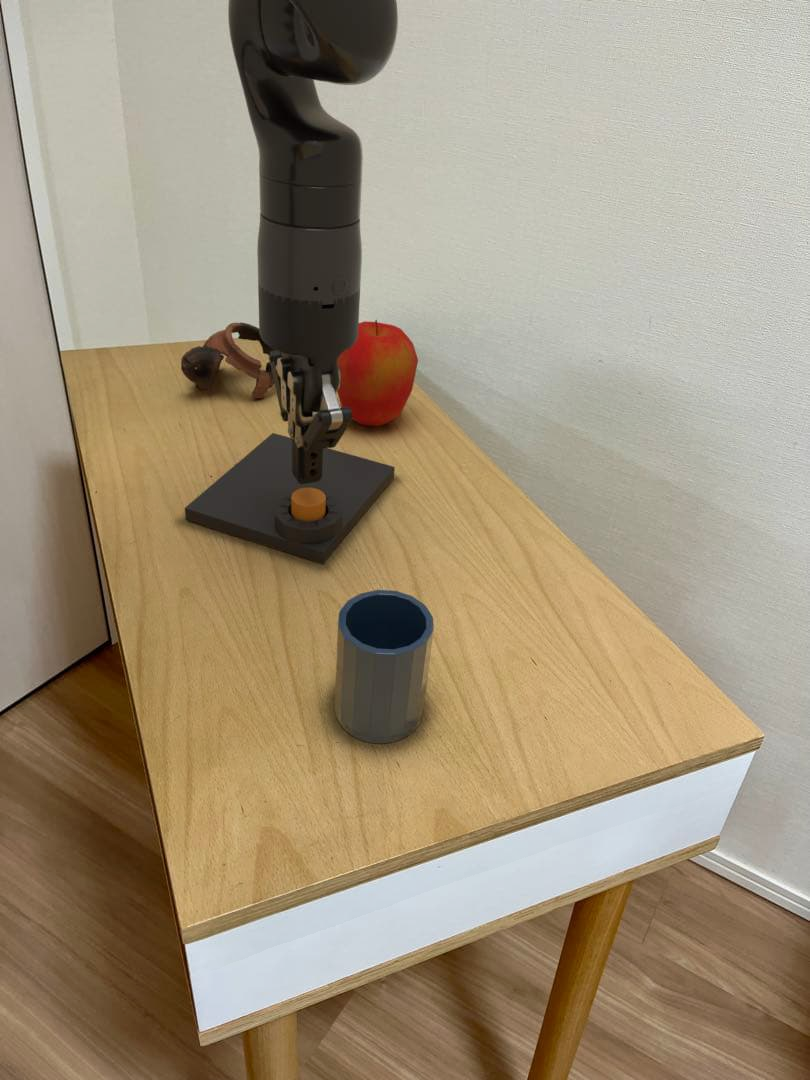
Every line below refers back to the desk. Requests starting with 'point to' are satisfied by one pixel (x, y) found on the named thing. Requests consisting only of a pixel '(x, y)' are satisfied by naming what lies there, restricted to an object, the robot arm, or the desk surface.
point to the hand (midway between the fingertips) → (307, 478)
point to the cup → (382, 665)
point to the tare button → (308, 504)
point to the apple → (377, 373)
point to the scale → (265, 499)
